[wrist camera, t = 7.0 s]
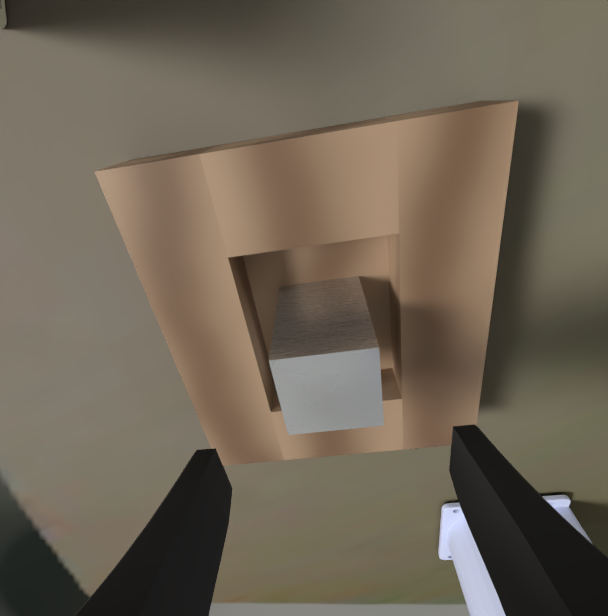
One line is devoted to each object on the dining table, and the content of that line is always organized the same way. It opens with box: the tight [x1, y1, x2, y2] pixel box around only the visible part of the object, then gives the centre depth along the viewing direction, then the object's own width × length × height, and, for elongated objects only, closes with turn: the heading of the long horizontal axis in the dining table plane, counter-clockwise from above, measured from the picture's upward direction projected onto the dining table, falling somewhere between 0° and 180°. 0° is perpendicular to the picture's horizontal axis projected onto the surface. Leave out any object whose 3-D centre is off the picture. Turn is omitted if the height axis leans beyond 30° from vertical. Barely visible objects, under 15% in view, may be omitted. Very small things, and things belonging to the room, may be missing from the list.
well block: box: [95, 101, 519, 465], centre depth 18 cm, size 15×17×3 cm
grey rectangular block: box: [269, 276, 384, 435], centre depth 16 cm, size 4×4×6 cm
